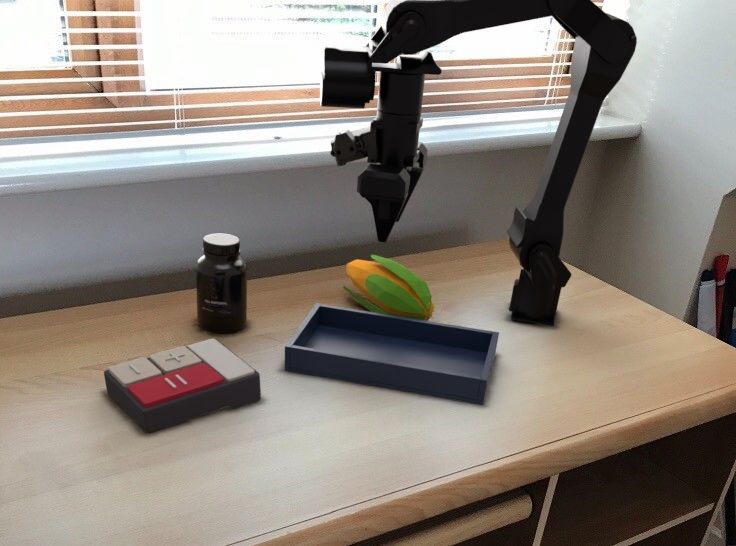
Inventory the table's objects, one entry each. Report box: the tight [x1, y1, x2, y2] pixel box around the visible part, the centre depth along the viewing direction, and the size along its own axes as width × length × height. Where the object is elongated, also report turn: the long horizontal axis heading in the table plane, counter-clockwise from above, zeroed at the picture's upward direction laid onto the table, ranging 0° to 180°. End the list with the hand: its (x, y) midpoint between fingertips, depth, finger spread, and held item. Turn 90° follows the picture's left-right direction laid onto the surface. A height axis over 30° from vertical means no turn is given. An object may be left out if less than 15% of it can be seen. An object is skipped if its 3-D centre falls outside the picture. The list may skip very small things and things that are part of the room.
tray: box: [283, 302, 500, 406], centre depth 111 cm, size 26×15×3 cm, turn 76°
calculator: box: [103, 338, 262, 434], centre depth 100 cm, size 11×4×15 cm
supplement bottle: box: [195, 233, 248, 334], centre depth 115 cm, size 7×7×12 cm
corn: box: [342, 254, 435, 321], centre depth 123 cm, size 7×8×20 cm
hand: (388, 231), depth 118 cm, fingers open, 9 cm apart
